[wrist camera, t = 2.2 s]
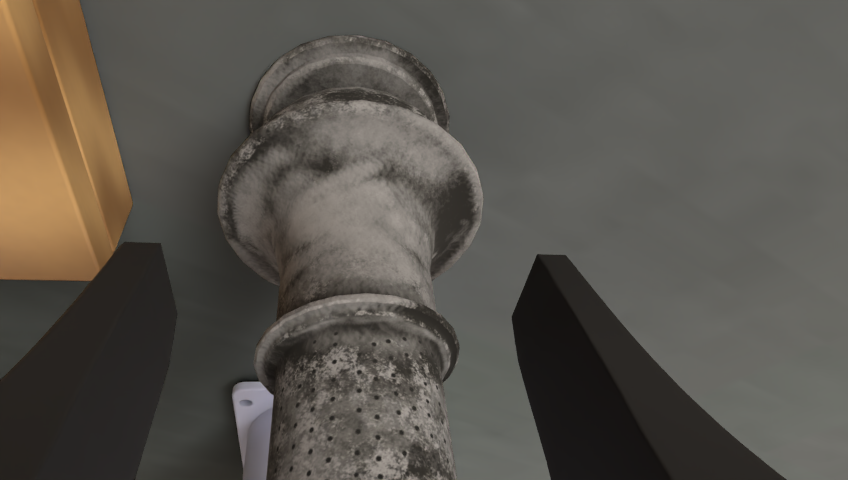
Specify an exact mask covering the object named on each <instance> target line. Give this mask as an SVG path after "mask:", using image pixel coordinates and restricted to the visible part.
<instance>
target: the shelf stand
mask: <svg viewBox="0 0 848 480" xmlns="http://www.w3.org/2000/svg"><path fill="white" fill-rule="evenodd" d="M132 205H133V202H132V198H131V194H130V191H129V187H128V183H127V179H126V175H125V172H124V168H123V164H122V160H121V156H120V153H119V149H118V145H117V141H116V138H115V134H114V130H113V126H112V122H111V119H110V115H109V111H108V107H107V103H106V100H105V96H104V92H103V88H102V84H101V81H100V77H99V73H98V69H97V66H96V62H95V58H94V54H93V50H92V47H91V43H90V39H89V35H88V31H87V28H86V24H85V20H84V16H83V13H82V9H81V5H80V1H79V0H0V280H54V281H92V280H93V278H94V277H95V276H96V275H97V274H98V272H99V271H100V270H101V269H102V267H103V266H104V265H105V264H106V262H107V261H108V260H109V259H110V257H111V256H112V255H113V252H114V251H115V249H116V246H117V244H118V241H119V239H120V236H121V234H122V231H123V228H124V226H125V223H126V221H127V218H128V216H129V213H130V210H131V208H132Z"/></svg>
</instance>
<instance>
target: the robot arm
mask: <svg viewBox="0 0 848 480" xmlns="http://www.w3.org/2000/svg"><path fill="white" fill-rule="evenodd" d="M176 320H177V310H176V306H175V302H174V297H173V293H172V289H171V285H170V280H169V276H168V272H167V268H166V264H165V259H164V255H163V251H162V247H161V243H135V242H124V243H123V244H122V245H121V246H119V247H118V249H117V250H116V251H115V252H114V254H113V255H112V256H111V257H110V259H109V260H108V261H107V262H106V264H105V265H104V266H103V267H102V269H101V270H100V271H99V272H98V274H97V275H96V276H95V277H94V278H93V280H92V281H91V282H90V283H89V284H88V286H87V287H86V288H85V289H84V290H83V292H82V293H81V294H80V295H79V296H78V298H77V299H76V300H75V301H74V302H73V303H72V305H71V306H70V307H69V308H68V309H67V310H66V311H65V312H64V314H63V315H62V316H61V317H60V318H59V319H58V320H57V321H56V323H55V324H54V325H53V326H52V327H51V328H50V329H49V330H48V331H47V333H46V334H45V335H44V336H43V337H42V338H41V339H40V340H39V341H38V343H37V344H36V345H35V346H34V347H33V348H32V349H31V350H30V351H29V352H28V353H27V354H26V355H25V356H24V357H23V358H22V359H21V360H20V361H19V362H18V363H17V364H16V365H15V366H14V367H13V368H12V369H11V370H10V371H9V372H8V373H7V374H6V375H5V376H4V377H3V378H2V379H1V380H0V480H135V477H136V474H137V471H138V467H139V464H140V461H141V457H142V454H143V451H144V447H145V444H146V441H147V438H148V434H149V431H150V428H151V424H152V421H153V418H154V414H155V411H156V408H157V404H158V401H159V397H160V394H161V391H162V387H163V384H164V380H165V377H166V374H167V370H168V367H169V362H170V357H171V351H172V345H173V339H174V333H175V327H176ZM512 323H513V330H514V337H515V344H516V350H517V356H518V362H519V366H520V370H521V373H522V377H523V381H524V384H525V388H526V391H527V395H528V398H529V402H530V405H531V409H532V412H533V416H534V419H535V423H536V426H537V430H538V433H539V437H540V440H541V444H542V447H543V451H544V454H545V457H546V461H547V465H548V469H549V473H550V477H551V480H786V479H785V478H784V477H782V476H781V475H780V474H778V473H777V472H776V471H775V470H773V469H772V468H771V467H770V466H768V465H767V464H766V463H765V462H764V461H762V460H761V459H760V458H759V457H757V456H756V455H755V454H754V453H752V452H751V451H750V450H749V449H748V448H746V447H745V446H744V445H743V444H741V443H740V442H739V441H738V440H737V439H736V438H734V437H733V436H732V435H731V434H730V433H729V432H728V431H726V430H725V429H724V428H723V427H722V426H721V425H720V424H719V423H717V422H716V421H715V420H714V419H713V418H712V417H711V416H710V415H709V414H708V413H707V412H706V411H705V410H703V409H702V408H701V407H700V406H699V405H698V404H697V403H696V402H695V401H694V400H693V399H692V398H691V397H690V396H689V395H687V394H686V393H685V392H684V391H683V390H682V389H681V388H680V387H679V386H678V385H677V384H676V383H675V382H674V380H673V379H672V378H671V377H670V376H669V375H668V374H667V373H666V372H665V371H664V370H663V369H662V368H661V367H660V366H659V365H658V364H657V363H656V362H655V361H654V360H653V358H652V357H651V356H650V355H649V354H648V353H647V352H646V351H645V350H644V349H643V347H642V346H641V345H640V344H639V343H638V342H637V341H636V340H635V338H634V337H633V336H632V335H631V334H630V333H629V332H628V330H627V329H626V328H625V327H624V326H623V325H622V323H621V322H620V321H619V320H618V319H617V317H616V316H615V315H614V314H613V313H612V311H611V310H610V309H609V308H608V307H607V305H606V304H605V303H604V302H603V301H602V299H601V298H600V297H599V296H598V294H597V293H596V292H595V291H594V290H593V288H592V287H591V286H590V285H589V283H588V282H587V281H586V280H585V278H584V277H583V276H582V275H581V273H580V272H579V271H578V270H577V268H576V267H575V266H574V265H573V264H572V262H571V261H570V260H569V259H568V258H567V256H566V255H541V254H537V256H536V259H535V261H534V264H533V266H532V269H531V271H530V274H529V276H528V278H527V281H526V283H525V286H524V288H523V291H522V293H521V296H520V298H519V300H518V303H517V305H516V308H515V310H514V313H513V315H512ZM232 399H233V406H234V412H235V419H236V425H237V432H238V438H239V445H240V451H241V457H242V464H243V470H244V472H243V480H266V476H267V465H268V454H269V443H270V432H271V421H272V410H273V399H274V395H272V394H271V393H269V391H268V390H267V389H266V388H265V387H264V386H263V384H262V383H261V382H240V383H237V384H236V385H235V386H234V387H233V392H232Z"/></svg>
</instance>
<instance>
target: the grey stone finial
mask: <svg viewBox="0 0 848 480" xmlns="http://www.w3.org/2000/svg"><path fill="white" fill-rule="evenodd" d="M449 117H450V116H449V112H448V109H447V105H446V101H445V97H444V93H443V91H442V89H441V88H440V86H439V84H438V83H437V81H436V80H435V78H434V76H433V75H432V73H431V71H430V70H428V69H427V68H426V67H425V66H424V65H423V64H422V63H421V62H420V61H418V60H417V59H416V58H415V57H414V56H413V55H412V54H410V53H408V52H406V51H404V50H402V49H401V48H399V47H397V46H395V45H393V44H391V43H389V42H387V41H383V40H378V39H373V38H369V37H364V36H360V35H347V36H327V37H324V38H321V39H317V40H314V41H311V42H307V43H304V44H301V45H299V46H298V47H296V48H295V49H293V50H291V51H290V52H288V53H287V54H285V55H283V56H282V57H280V58H279V59H278V60H277V61H276V62H275V63H274V64H273V65H272V66H271V68H270V69H269V70H268V71H267V72H266V73H265V74H264V76H263V77H262V78H261V80H260V82H259V84H258V87H257V89H256V91H255V94H254V96H253V98H252V101H251V111H250V122H249V127H250V131H251V135H250V136H249V137H248V138H247V139H246V140H245V141H244V142H243V143H242V144H241V145H240V147H239V148H238V149H237V150H236V151H235V152H234V153H233V154H232V155H231V157H230V159H229V162H228V164H227V166H226V169H225V171H224V173H223V175H222V178H221V180H220V182H219V189H218V211H217V213H218V217H219V220H220V223H221V226H222V229H223V232H224V235H225V238H226V240H227V241H228V243H229V244H230V245H231V247H232V248H233V249H234V251H235V252H236V254H237V255H238V256H239V258H240V259H241V261H243V262H244V263H245V264H246V265H248V266H249V267H250V268H251V269H253V270H254V271H255V272H256V273H257V274H259V275H260V276H261V277H262V278H264V279H265V280H267V281H269V282H271V283H273V284H275V285H277V286H279V297H278V308H277V318H276V322H275V323H274V324H272V325H271V326H270V327H269V328H267V329H266V331H265V332H264V334H263V336H262V337H261V339H260V340H259V342H258V343H257V345H256V352H255V358H254V368H255V371H256V374H257V377H258V380H259V381H260V382H261V383H262V384H263V386H264V387H265V388H266V389H267V390H268V391H269V393H271V394H272V395H274V399H273V410H272V421H271V432H270V443H269V454H268V465H267V476H266V480H457V475H456V469H455V462H454V455H453V448H452V442H451V435H450V428H449V421H448V415H447V408H446V401H445V394H444V388H443V382H444V381H445V380H446V379H447V378H448V377H449V376H450V375H451V373H452V371H453V369H454V368H455V366H456V364H457V362H458V355H459V342H458V340H457V337H456V334H455V331H454V328H453V327H452V326H451V325H450V324H449V323H448V322H447V321H446V319H445V318H444V317H443V316H442V315H441V314H439V313H437V312H436V306H435V300H434V293H433V287H432V280H434V279H435V278H436V277H438V276H439V275H441V274H442V273H443V272H445V271H446V270H447V269H449V268H450V267H452V266H453V265H454V264H455V262H456V261H457V260H458V259H459V258H460V257H461V255H462V254H463V253H464V252H465V251H466V250H467V248H468V247H469V246H470V245H471V242H472V240H473V238H474V236H475V234H476V232H477V229H478V227H479V225H480V223H481V216H482V207H483V198H484V197H483V193H482V188H481V184H480V180H479V176H478V172H477V168H476V167H475V165H474V164H473V162H472V160H471V159H470V157H469V156H468V154H467V153H466V151H465V149H464V148H463V146H462V145H461V144H460V143H459V142H458V141H457V140H456V139H454V138H453V137H452V136H451V135H450V134H449Z"/></svg>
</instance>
